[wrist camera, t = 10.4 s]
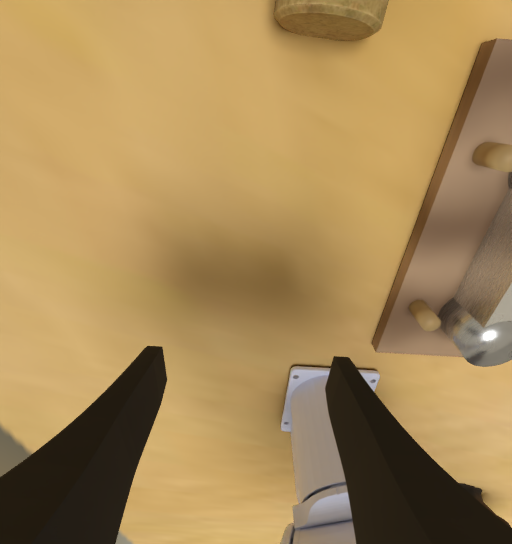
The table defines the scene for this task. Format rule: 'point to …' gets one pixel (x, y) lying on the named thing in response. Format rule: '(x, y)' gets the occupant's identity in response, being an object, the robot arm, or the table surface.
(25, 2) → the table surface
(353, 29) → the gavel
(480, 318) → the silver ball-ended bar
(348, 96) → the table surface
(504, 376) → the table surface
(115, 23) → the table surface
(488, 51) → the board
